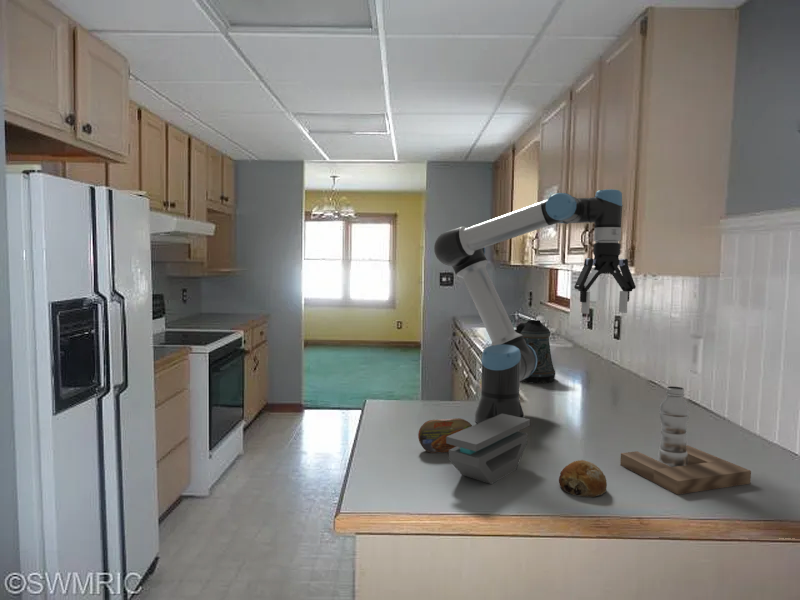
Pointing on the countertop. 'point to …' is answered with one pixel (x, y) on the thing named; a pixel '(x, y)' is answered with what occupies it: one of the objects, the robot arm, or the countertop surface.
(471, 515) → the countertop surface
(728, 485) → the notched board
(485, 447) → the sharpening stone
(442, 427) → the tin
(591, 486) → the bread roll
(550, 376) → the beer stein
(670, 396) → the plastic bottle
